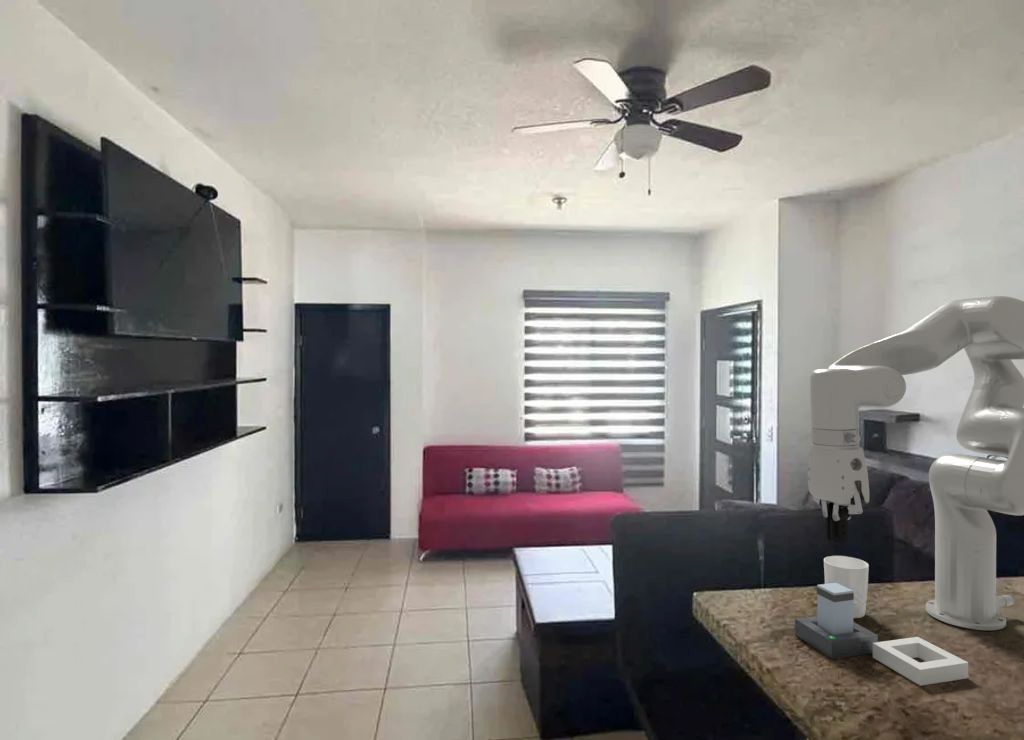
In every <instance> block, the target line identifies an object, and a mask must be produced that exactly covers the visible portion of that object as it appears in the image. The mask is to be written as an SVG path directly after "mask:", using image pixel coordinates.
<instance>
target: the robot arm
mask: <svg viewBox="0 0 1024 740" xmlns="http://www.w3.org/2000/svg"><path fill="white" fill-rule="evenodd" d="M963 349H964V351H965V353H966V355H967V357H968V360H969V362H970V365H971V367H972V370H973V376H974V381H973V385H972V389H971V391H970V394H969V397H968V399H967V402H966V405H965V407H964V409H963V411H962V414H961V417H960V419H959V421H958V424H957V428H956V440H957V443H958V444H959V445H960V446H961V447H962V448H964V449H965V450H968V451H971V452H973V453H974V452H975V453H979V454H984V455H991V456H997V457H998V456H999V457H1004V458H1007V459H1006V460H1002V459H996V458H990V457H989V458H988V457H986V456H985V457H984V456H977V455H970V454H962V453H961V454H960V453H950V454H945V455H942V456H939V457H937V458H936V459H935V460H934V461H933V462H932V463H931V465H930V468H929V470H928V484H929V487H930V492H931V496H932V501H933V509H934V522H935V523H934V532H935V533H934V546H935V547H934V563H935V564H934V599H930V600H928V601H927V602H926V603H925V611H926V613H927V614H929V615H930V616H931V617H933V618H934V619H937V620H938V621H941V622H943V623H946V624H949V625H952V626H955V627H958V628H959V627H960V628H963V629H969V630H975V631H998V630H1002V629H1004V628H1006V626H1007V618H1006V617H1005V615H1004V614H1003V613H1001V612H1000V609H1001V608H1002V607H1009V606H1013V605H1014V604H1015V600H1014V598H1013V597H1012V596H1011V595H1009V594H1005V595H997V529H996V526H995V523H994V521H993V519H992V516H991V515H990V514H989V512H988V511H991V512H996V513H1000V514H1004V515H1010V516H1011V515H1012V516H1024V376H1023V374H1022V373H1021V371H1019V369H1018V368H1017V366H1016V365H1015V364H1014V362H1013V361H1012V360H1024V300H1021V299H1019V298H1015V297H1010V296H1007V295H1006V296H1004V295H994V296H985V297H973V298H964V299H962V298H961V299H957V300H953V301H949V302H946V303H945V304H943V305H941V306H940V307H938V308H937V309H935V310H933V312H931V313H929V314H928V315H926V316H924V317H923V318H921V320H919V321H918V322H916V323H915V324H913V325H911V326H910V327H909V328H907V329H905V330H903V331H902V332H899V333H897V334H893V335H891V336H887V337H885V338H883V339H880V340H878V341H874V342H872V343H869V344H866V345H865V346H862V347H859V348H857V349H855V350H853V351H851V352H849V353H847V354H845V355H844V356H842V357H841V358H840V359H838V360H836V361H835V362H834V363H832V364H830V365H829V367H828V368H818V369H815V370H813V371H812V372H811V374H810V378H809V385H810V387H809V390H810V394H809V396H810V426H811V427H810V431H811V432H810V433H811V440H810V441H811V443H810V447H809V453H808V461H807V462H808V464H807V465H808V466H807V487H808V492H809V493H810V495H811V496H812V500H813V502H815V503H816V504H818V505H820V508H821V509H822V515H823V518H825V537H826V540H827V541H829V542H831V543H834V544H835V543H843V542H847V541H849V523H848V521H849V520H851V518H852V515H860V514H863V513H864V510H863V507H862V505H867V504H869V502H870V481H869V472H868V464H867V460H866V456H865V451H864V448H863V447H861V446H860V442H861V439H862V438H861V436H860V411H859V410H860V408H863V407H864V408H873V409H874V408H875V409H885V408H889V407H893V406H895V405H896V404H898V403H899V402H900V401H901V400H902V399H903V398H904V396H905V394H906V390H907V383H906V380H905V378H904V376H906V375H907V376H908V375H913V374H919V373H922V372H928V371H931V370H933V369H935V368H938V367H940V366H941V365H942V364H943V363H945V362H946V361H947V360H949V359H950V358H952V357H954V356H955V355H956V354H957V353H959V352H960V351H961V350H963Z"/></svg>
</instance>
